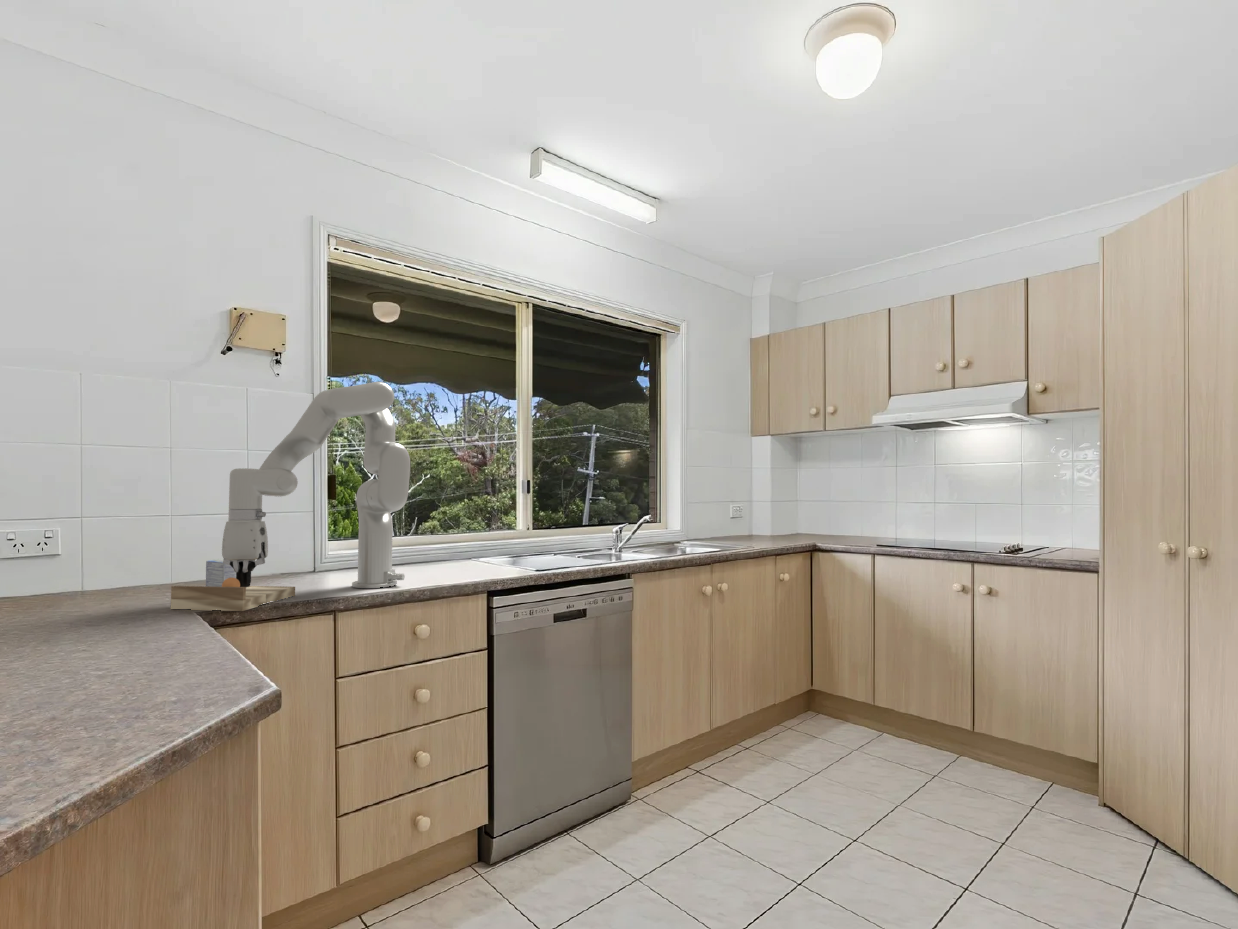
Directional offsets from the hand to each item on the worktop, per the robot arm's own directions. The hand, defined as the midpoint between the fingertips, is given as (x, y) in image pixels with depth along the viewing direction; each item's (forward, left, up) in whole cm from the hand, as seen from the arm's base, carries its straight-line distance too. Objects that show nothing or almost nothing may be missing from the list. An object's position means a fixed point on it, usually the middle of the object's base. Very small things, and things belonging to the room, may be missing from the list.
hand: (243, 587), depth 171 cm
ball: (0, +4, +1) cm, 5 cm away
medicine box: (+16, -14, -4) cm, 22 cm away
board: (0, +3, -4) cm, 4 cm away
